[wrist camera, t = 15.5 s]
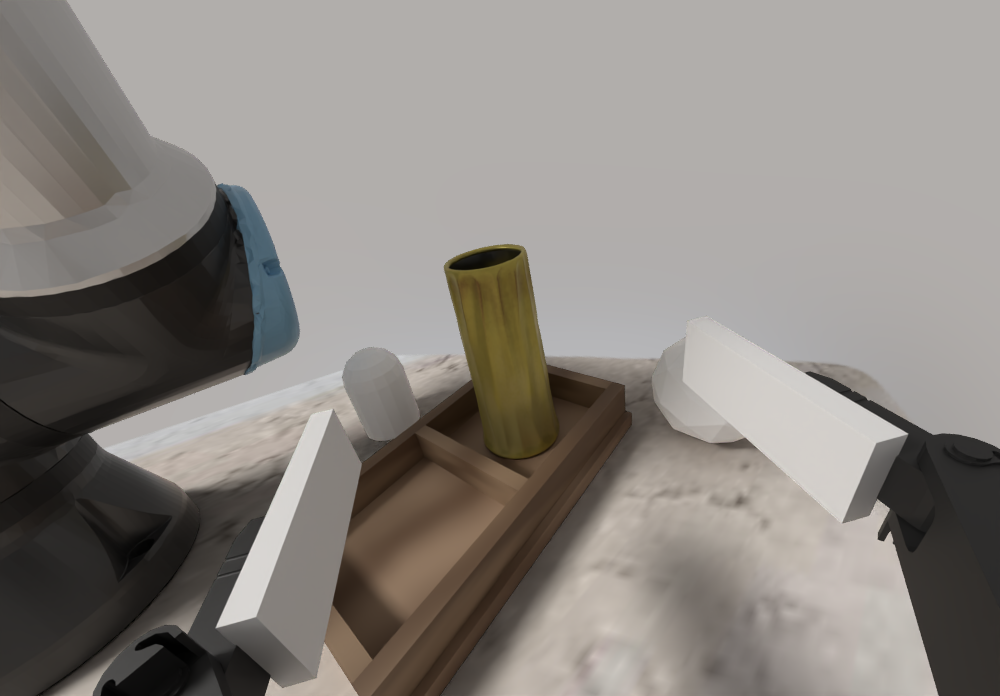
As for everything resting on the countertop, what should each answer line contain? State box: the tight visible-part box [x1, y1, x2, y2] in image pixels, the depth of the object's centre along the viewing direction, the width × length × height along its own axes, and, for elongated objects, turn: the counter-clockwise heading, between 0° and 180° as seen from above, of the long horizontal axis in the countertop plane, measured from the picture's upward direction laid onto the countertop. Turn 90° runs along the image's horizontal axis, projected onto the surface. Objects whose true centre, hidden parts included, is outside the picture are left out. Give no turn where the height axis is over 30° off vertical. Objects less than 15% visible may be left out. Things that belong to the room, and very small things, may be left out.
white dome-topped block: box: [342, 347, 420, 441], centre depth 34 cm, size 5×5×8 cm
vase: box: [444, 244, 559, 459], centre depth 26 cm, size 6×6×14 cm
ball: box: [652, 337, 745, 443], centre depth 26 cm, size 8×8×8 cm
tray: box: [324, 365, 632, 696], centre depth 26 cm, size 13×23×4 cm, turn 139°
